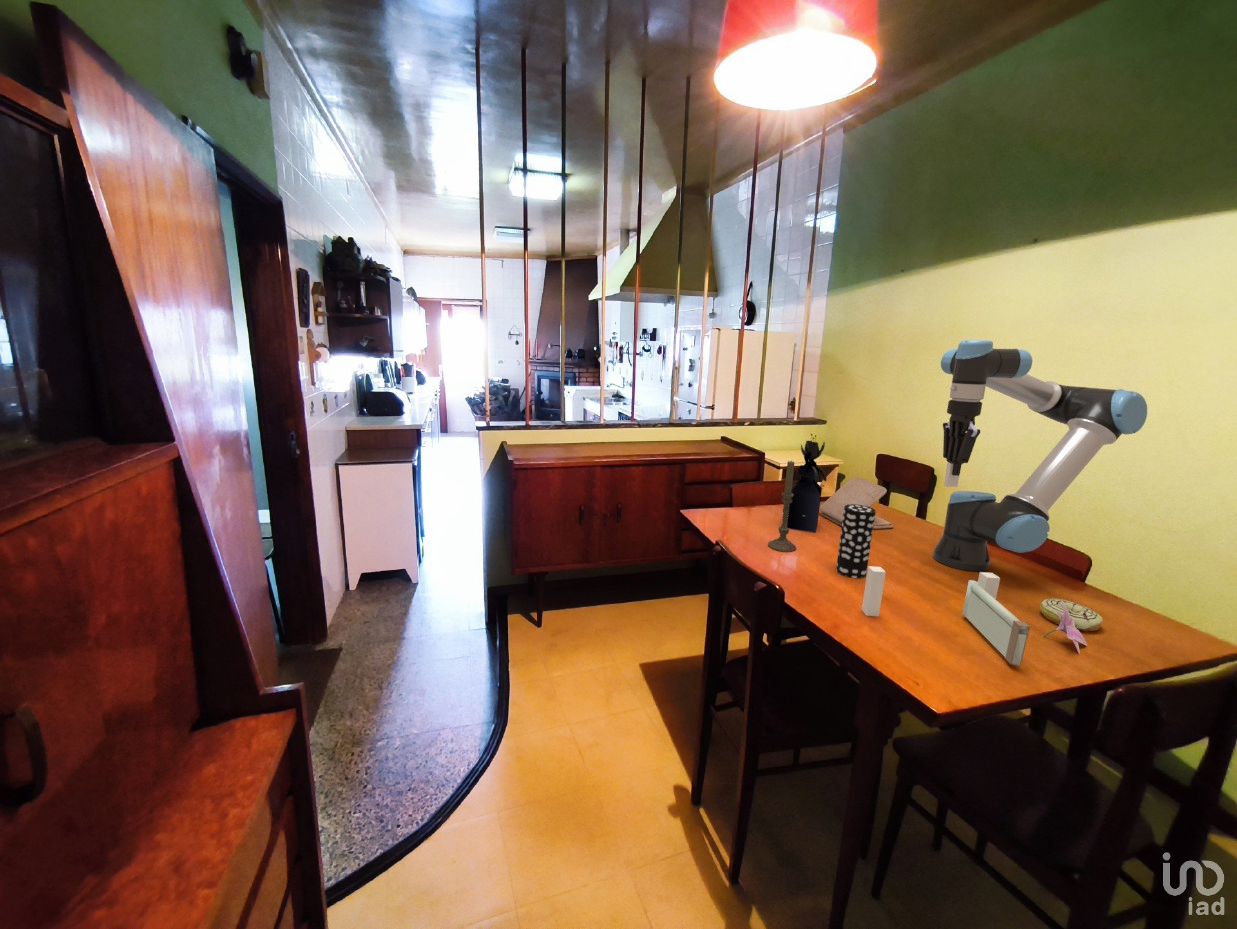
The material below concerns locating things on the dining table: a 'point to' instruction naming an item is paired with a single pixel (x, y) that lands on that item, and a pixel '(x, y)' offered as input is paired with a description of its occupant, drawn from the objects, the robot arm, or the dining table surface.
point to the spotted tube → (855, 540)
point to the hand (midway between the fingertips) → (950, 485)
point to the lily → (1069, 627)
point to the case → (854, 500)
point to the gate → (996, 623)
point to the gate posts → (877, 582)
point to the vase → (807, 491)
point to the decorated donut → (1072, 614)
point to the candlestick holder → (785, 515)
